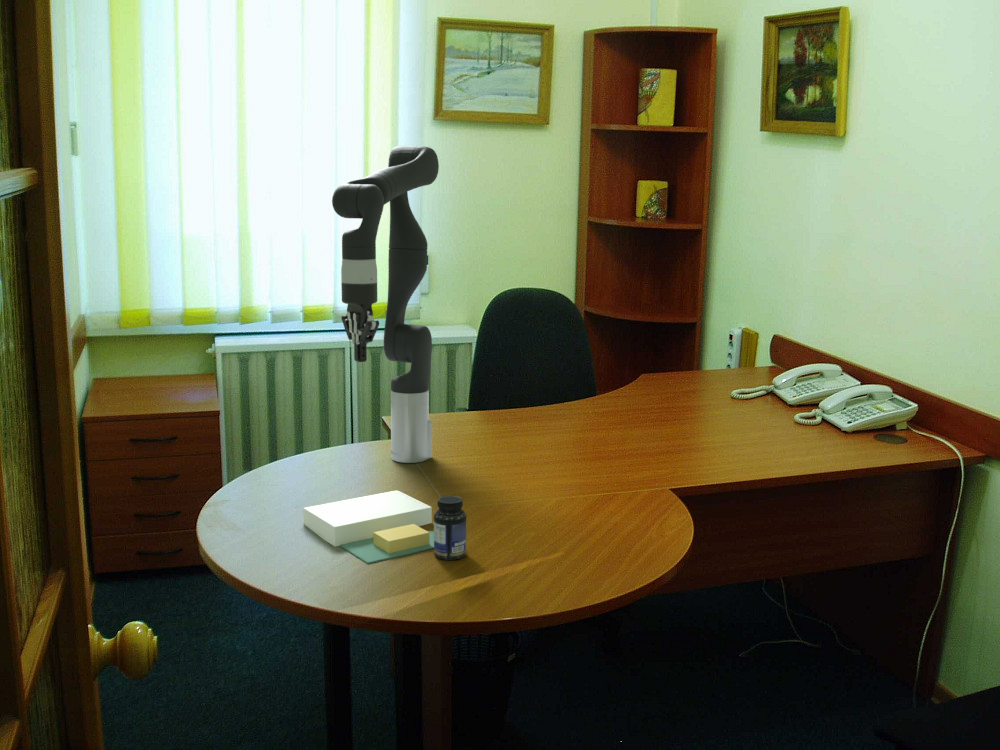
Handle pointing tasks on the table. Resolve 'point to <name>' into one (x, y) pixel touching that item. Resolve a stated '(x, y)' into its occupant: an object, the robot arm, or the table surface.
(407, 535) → the cream yellow sponge block
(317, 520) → the white rectangular block
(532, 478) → the table surface
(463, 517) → the pill bottle
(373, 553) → the mat
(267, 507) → the table surface
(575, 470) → the table surface
